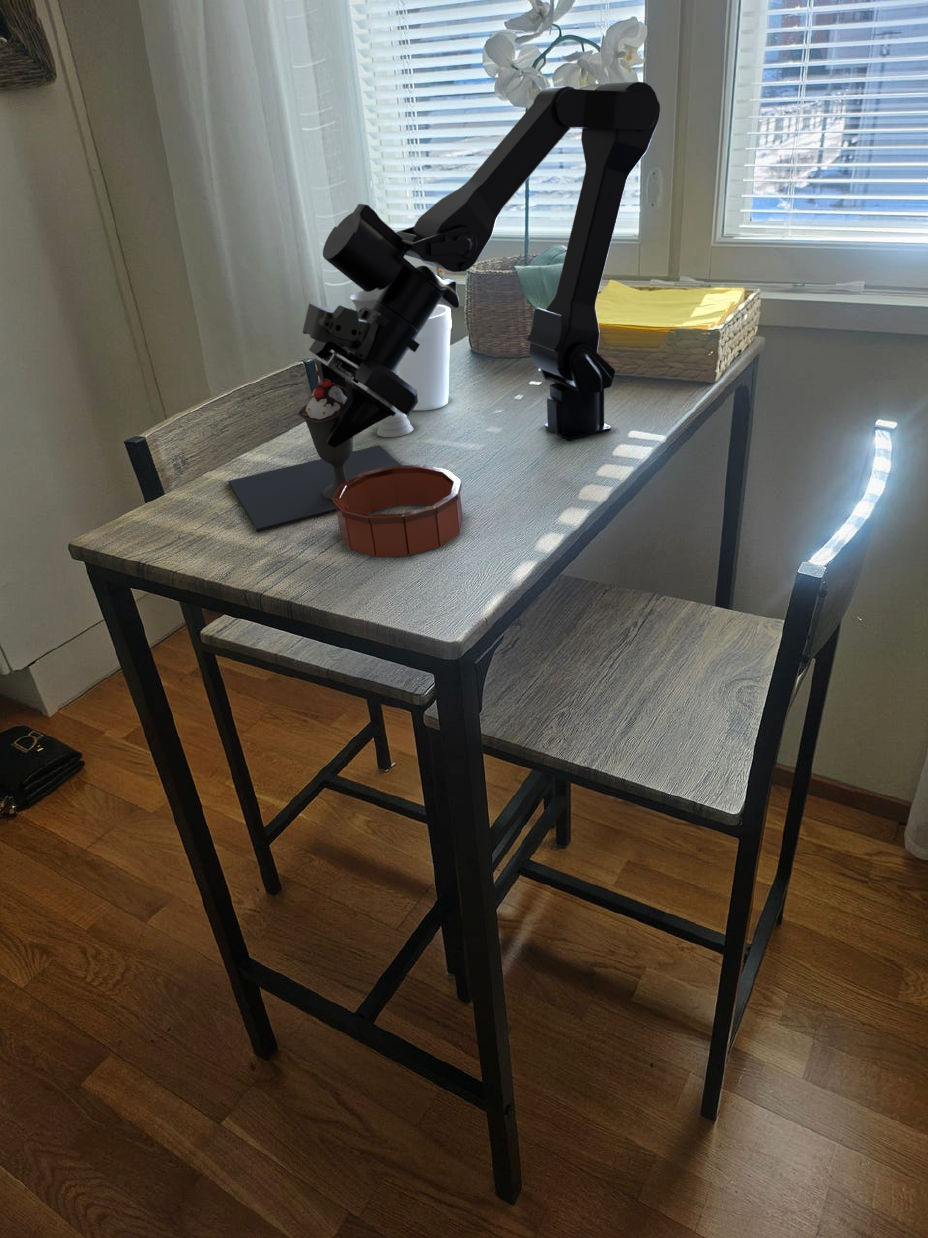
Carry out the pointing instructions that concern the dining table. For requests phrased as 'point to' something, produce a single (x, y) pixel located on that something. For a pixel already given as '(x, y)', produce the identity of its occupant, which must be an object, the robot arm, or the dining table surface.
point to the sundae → (327, 428)
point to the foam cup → (430, 361)
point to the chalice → (399, 421)
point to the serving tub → (401, 529)
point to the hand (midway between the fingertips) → (320, 437)
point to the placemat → (300, 488)
